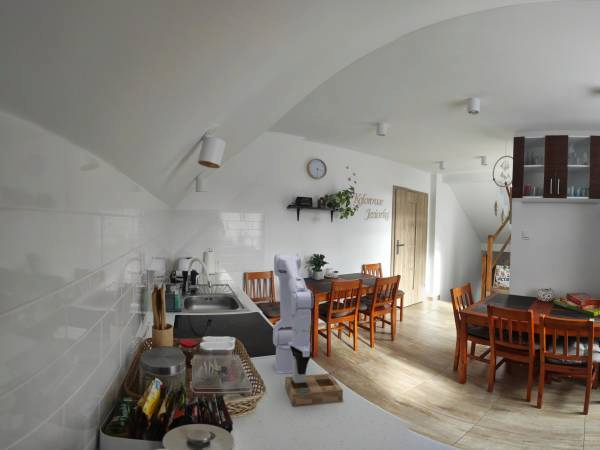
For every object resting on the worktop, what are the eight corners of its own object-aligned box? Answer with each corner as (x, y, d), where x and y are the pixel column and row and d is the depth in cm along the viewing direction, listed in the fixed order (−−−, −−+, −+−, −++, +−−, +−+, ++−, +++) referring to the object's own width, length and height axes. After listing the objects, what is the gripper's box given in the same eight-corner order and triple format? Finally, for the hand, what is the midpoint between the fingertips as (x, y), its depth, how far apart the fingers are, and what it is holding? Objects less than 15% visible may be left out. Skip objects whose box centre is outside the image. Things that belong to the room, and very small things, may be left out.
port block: (285, 387, 109) (285, 376, 109) (330, 383, 113) (330, 372, 113) (292, 406, 98) (292, 394, 98) (342, 401, 101) (342, 389, 101)
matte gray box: (292, 378, 106) (292, 356, 106) (303, 377, 106) (303, 355, 107) (294, 383, 102) (295, 360, 102) (305, 382, 103) (306, 359, 103)
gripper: (284, 322, 111) (283, 362, 110) (294, 336, 97) (292, 382, 96) (304, 322, 112) (303, 361, 112) (316, 335, 98) (315, 380, 98)
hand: (299, 371), depth 104 cm, fingers closed on matte gray box, 4 cm apart
